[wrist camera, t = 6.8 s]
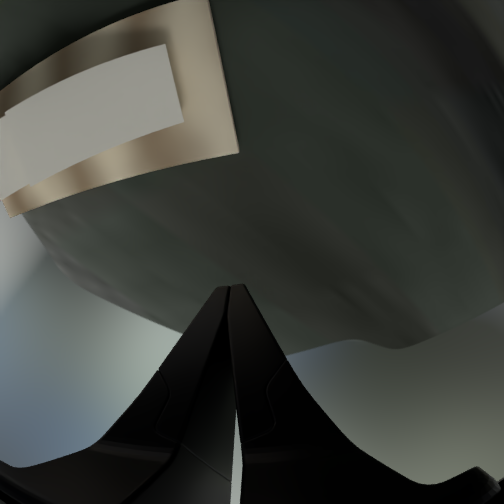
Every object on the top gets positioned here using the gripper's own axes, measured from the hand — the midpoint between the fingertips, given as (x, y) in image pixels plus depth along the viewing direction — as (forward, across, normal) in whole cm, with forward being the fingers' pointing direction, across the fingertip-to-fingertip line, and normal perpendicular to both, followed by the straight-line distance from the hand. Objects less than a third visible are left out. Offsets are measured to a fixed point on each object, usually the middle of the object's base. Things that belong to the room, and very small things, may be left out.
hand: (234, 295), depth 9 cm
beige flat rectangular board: (+13, +11, -6) cm, 18 cm away
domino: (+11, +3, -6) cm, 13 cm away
